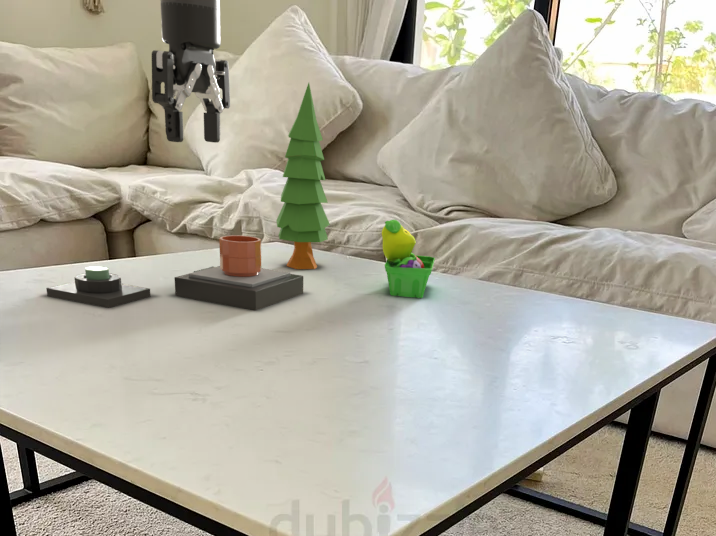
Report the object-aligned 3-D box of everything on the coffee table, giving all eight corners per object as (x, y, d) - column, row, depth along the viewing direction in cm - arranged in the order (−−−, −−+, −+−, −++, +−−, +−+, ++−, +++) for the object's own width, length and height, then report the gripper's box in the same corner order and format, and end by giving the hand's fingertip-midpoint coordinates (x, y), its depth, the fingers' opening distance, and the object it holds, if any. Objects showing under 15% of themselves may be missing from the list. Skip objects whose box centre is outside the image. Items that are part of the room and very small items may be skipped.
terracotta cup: (212, 273, 117) (211, 238, 114) (235, 267, 122) (234, 233, 119) (246, 279, 115) (246, 243, 112) (268, 272, 120) (268, 238, 117)
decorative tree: (330, 265, 147) (336, 83, 133) (324, 275, 138) (329, 82, 124) (279, 261, 147) (280, 79, 133) (269, 270, 138) (269, 78, 125)
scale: (175, 297, 116) (173, 273, 115) (228, 282, 128) (227, 260, 126) (255, 312, 112) (255, 287, 110) (303, 295, 123) (303, 272, 122)
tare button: (81, 279, 111) (80, 268, 111) (97, 276, 114) (96, 265, 113) (99, 282, 110) (97, 271, 110) (114, 279, 113) (113, 268, 112)
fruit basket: (429, 301, 125) (436, 227, 119) (374, 297, 125) (378, 223, 120) (432, 287, 135) (438, 218, 130) (381, 283, 135) (385, 214, 130)
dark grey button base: (47, 297, 111) (44, 276, 110) (92, 287, 119) (89, 267, 117) (108, 309, 108) (106, 287, 106) (150, 298, 115) (149, 277, 114)
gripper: (180, -4, 94) (185, 144, 101) (245, 12, 106) (245, 144, 113) (130, -6, 96) (138, 139, 104) (199, 10, 108) (202, 139, 115)
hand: (194, 141), depth 108 cm, fingers open, 8 cm apart
